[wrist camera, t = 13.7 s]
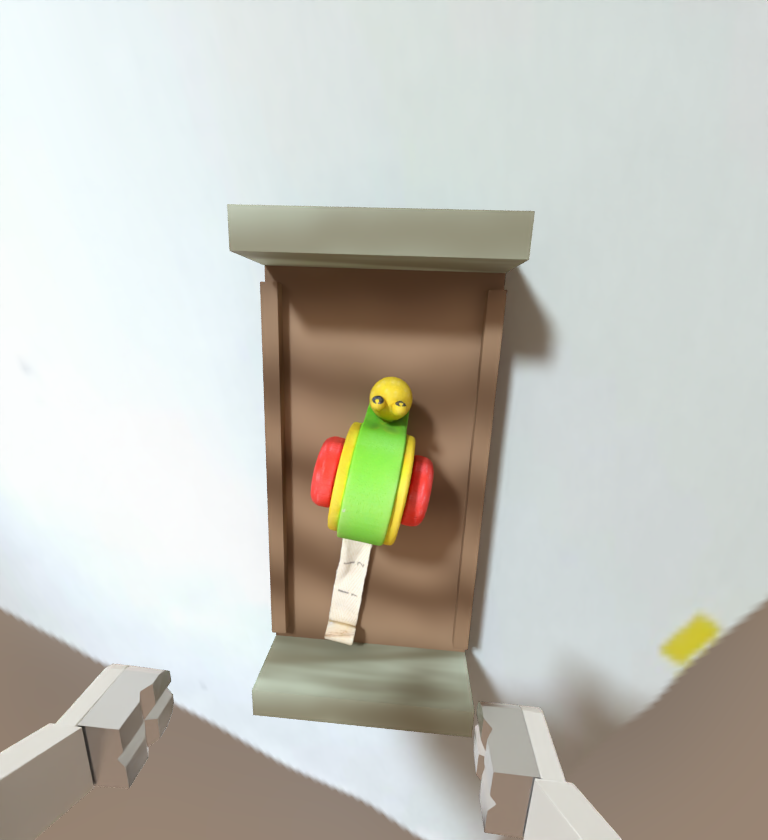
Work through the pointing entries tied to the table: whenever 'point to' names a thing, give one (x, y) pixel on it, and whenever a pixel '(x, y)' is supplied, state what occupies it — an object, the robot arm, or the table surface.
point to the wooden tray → (347, 403)
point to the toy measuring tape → (369, 493)
